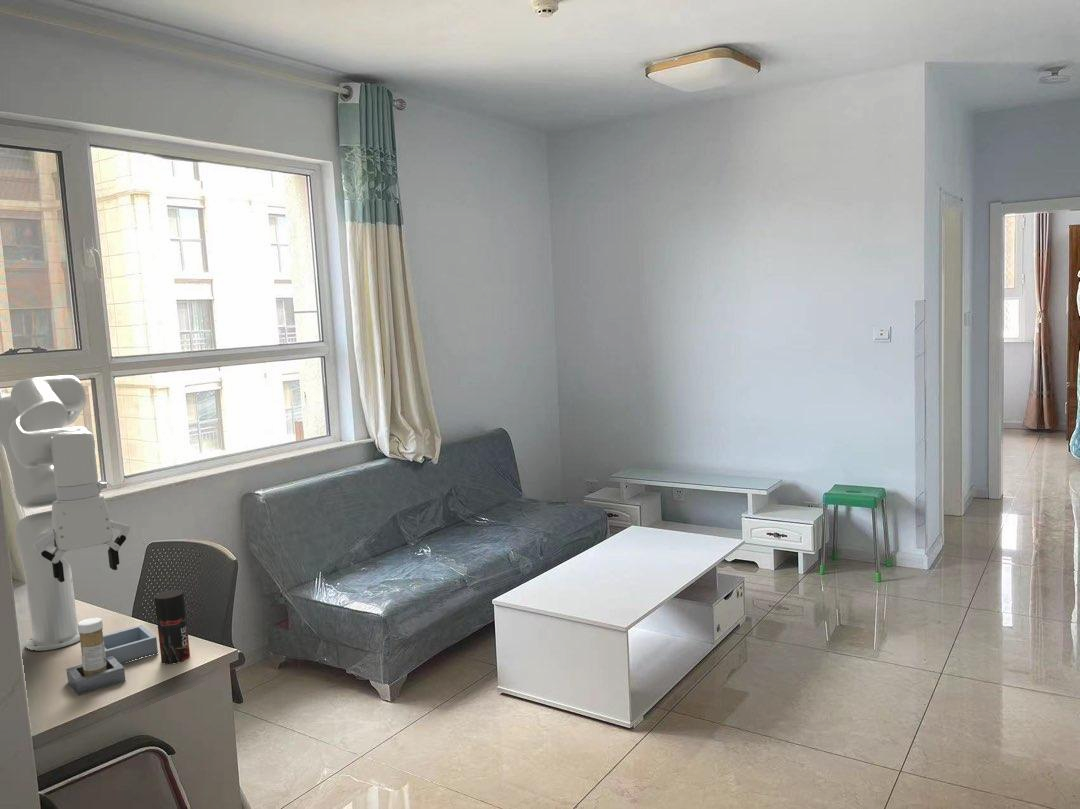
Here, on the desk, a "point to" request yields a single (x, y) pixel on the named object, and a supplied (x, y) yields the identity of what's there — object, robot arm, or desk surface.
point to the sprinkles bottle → (92, 646)
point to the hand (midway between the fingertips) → (87, 574)
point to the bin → (130, 644)
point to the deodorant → (172, 626)
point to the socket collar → (95, 677)
